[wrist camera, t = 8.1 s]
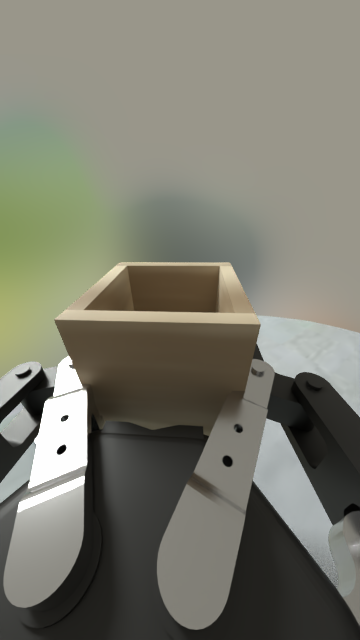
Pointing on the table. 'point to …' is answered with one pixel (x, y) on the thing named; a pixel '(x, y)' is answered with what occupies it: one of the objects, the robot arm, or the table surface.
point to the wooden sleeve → (162, 342)
